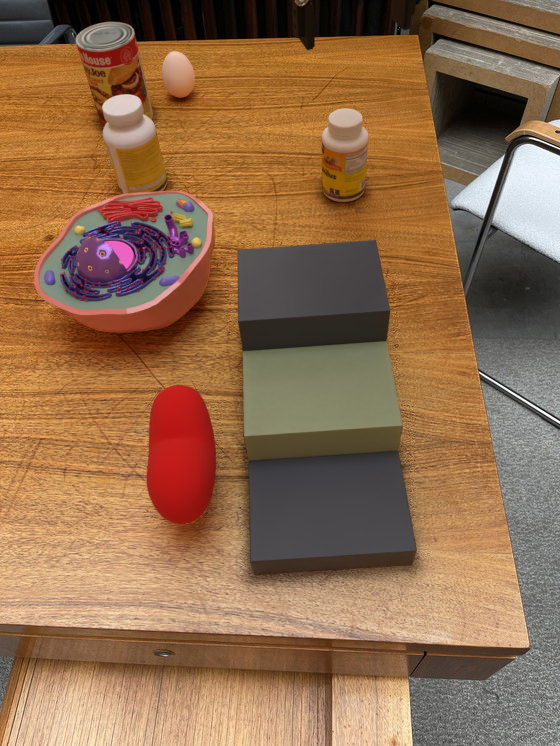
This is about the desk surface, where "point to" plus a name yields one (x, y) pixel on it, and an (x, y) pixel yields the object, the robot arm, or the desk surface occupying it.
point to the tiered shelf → (321, 410)
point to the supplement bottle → (344, 156)
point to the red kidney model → (180, 455)
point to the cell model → (130, 261)
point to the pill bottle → (133, 146)
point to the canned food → (112, 64)
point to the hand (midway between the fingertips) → (353, 33)
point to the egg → (178, 74)
